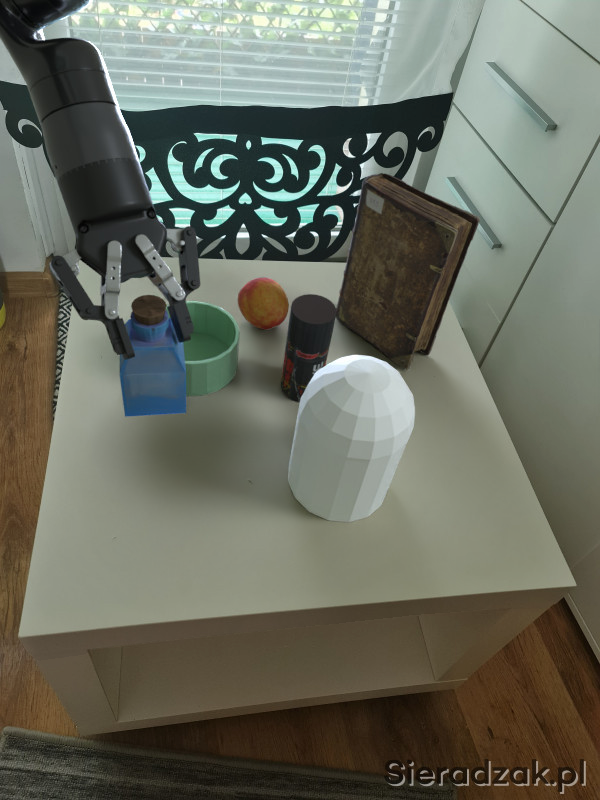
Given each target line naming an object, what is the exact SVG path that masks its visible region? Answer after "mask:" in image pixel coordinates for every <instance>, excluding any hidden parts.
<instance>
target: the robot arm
mask: <svg viewBox="0 0 600 800" xmlns="http://www.w3.org/2000/svg"><path fill="white" fill-rule="evenodd" d="M92 2H93V0H0V41H1V43H2V44H3V45H4V47H5V49H6V51H7V52H8V54H9V56H10V57H11V59H12V61H13V62H14V64H15V66H16V68H17V69H18V71H19V73H20V75H21V76H22V78H23V80H24V82H25V84H26V87H27V90H28V93H29V97H30V99H31V102H32V105H33V108H34V111H35V113H36V116H37V119H38V122H39V125H40V128H41V131H42V135H43V140H44V145H45V149H46V153H47V157H48V160H49V163H50V170H51V173H52V175H53V177H54V178H55V180H56V183H57V186H58V189H59V191H60V195H61V198H62V200H63V204H64V206H65V209H66V211H67V215H68V217H69V220H70V223H71V226H72V230H73V232H74V236H75V243H74V249H72V250H71V251H69V252H67V253H65V254H62V255H55V256H53V257H52V258H51V260H50V262H49V263H48V264H49V265H48V268H49V271H50V272H51V274H52V276H53V277H54V279H55V280H56V282H57V284H58V286H60V288H61V290H62V291H63V293H64V294H65V296H66V297H67V299H68V301H69V302H70V303H71V305H72V307H73V308H74V310H75V311H76V313H77V315H78V316H79V317H80V319H82V320H83V321H98V322H101V323H102V324H103V326H105V330H106V332H107V336H108V339H109V341H110V344H111V347H112V350H113V352H114V353H115V354H116V355H117V356H120V355H121V354H122V355H123V358H124V359H125V360H126V359H130V358H133V357H135V353H134V350H133V347H132V344H131V341H130V338H129V335H128V332H127V330H126V327H125V324H126V323H125V321H124V318H123V317H121V318H120V315H119V314H120V313H119V312H120V293H121V284H123V283H126V282H127V281H129V280H131V279H142V278H147V279H149V281H150V282H151V283H152V285H153V286H154V287H156V288H157V289H158V290H159V292H160V293H161V294H162V296H163V297H164V298H165V300H166V301H167V303H168V305H169V306H167V308H168V311H169V315H170V318H171V321H172V324H173V327H174V330H175V333H176V336H177V339H178V341H179V342H180V343H182V342H186V341H189V340H191V336H190V333H193V331H194V326H193V323H192V320H191V317H190V314H189V311H188V308H187V305H186V301H187V297H188V296H189V295H190V294H191V293H193V292H194V291H196V290H198V289H199V288H201V275H200V273H201V272H200V262H199V251H198V240H197V231H196V229H195V228H194V227H193V226H190V225H187V226H186V227H184V228H166V226H165V225H164V224H163V223H162V221H160V219H159V217H158V216H157V211H156V208H155V206H154V203H153V199H152V196H151V193H150V190H149V187H148V185H147V181H146V178H145V175H144V174H145V173H144V171H143V168H142V165H141V161H140V159H139V156H138V153H137V150H136V147H135V143H134V141H133V137H132V135H131V131H130V129H129V127H128V124H126V121H125V119H124V117H123V115H122V112H121V109H120V107H119V103H118V100H117V97H116V94H115V91H114V88H113V85H112V81H111V78H110V76H109V73H108V70H107V69H108V68H107V66H106V63H105V61H104V58H103V56H102V55H101V52H100V50H99V49H98V48H97V46H96V45H94V44H93V43H91V41H89V40H86V39H83V38H79V37H70V36H69V37H56V38H47V39H46V38H45V36H44V32H43V29H44V28H47V27H49V26H51V25H53V24H55V23H57V22H59V21H61V20H64V19H65V18H68V17H70V16H73V15H75V14H76V13H78V12H81V11H83V10H85V9H86V8H87V7H88V6H89V5H90V4H91V3H92ZM167 242H168V243H169V244H170V245H171V249H172V251H174V252H175V253H177V254H178V255H177V257H178V265H179V266H178V267H179V278H180V283H179V282H178V280H177V279H176V278H175V276H174V273H173V271H172V270H171V269H170V267H169V266H168V264H167V263H166V262H165V260H164V259H163V257H162V255H163V252H164V250H165V246H166V243H167ZM79 261H81V262H82V263H84V264H85V265H86V266H87V267H89V268H90V269H91V270H93V271H94V272H95V273H96V274H98V275H99V276H100V287H99V288H100V289H99V290H100V291H99V292H100V305H96V304H94V303H93V301H92V299H91V297H89V295H88V293H87V292H86V290H85V289H84V287H83V285H82V284H81V282H80V281H79V279H78V276H79V275H80V271H81V269H80V267H79Z"/></svg>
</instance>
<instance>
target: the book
mask: <svg viewBox="0 0 600 800" xmlns="http://www.w3.org/2000/svg"><path fill="white" fill-rule="evenodd" d="M480 221H481V218H480V217H479V216H478V215H476V214H474V213H472V212H470V211H468V210H466V209H463V208H460V207H458V206H456V205H453V204H450V203H449V202H446V201H444V200H442V199H439V198H438V197H435V196H432V195H430V194H428V193H426V192H424V191H422V190H420V189H419V188H416V187H413V186H412V185H410V184H408V183H406V182H405V181H404V180H401V179H400V178H397V177H396V176H394V175H391V174H388V173H383V172H381V173H375V174H370V175H368V176H366V177H365V178H364V179H363V180H362V184H361V190H360V195H359V200H358V205H357V207H356V216H355V220H354V225H353V227H352V229H351V232H352V235H351V240H350V244H349V249H348V250H347V258H346V263H345V268H344V270H343V278H342V282H341V285H340V286H341V287H340V289H339V292H338V293H339V294H338V295H339V296H338V299H337V304H336V306H335V307H336V311H337V313H336V320H338V322H339V323H340V324H342V325H343V326H345V327H346V329H348V330H350V331H353V332H354V333H356V334H357V335H359V336H360V337H361V338H363V339H364V340H366V341H367V342H368V343H370V344H371V345H372V346H374V347H375V348H376V349H378V350H379V351H381V352H382V353H383V354H384V355H385V356H386V357H387V358H388V359H389V360H390V361H392V362H394V363H395V364H396V365H397V366H399V367H400V368H402V369H404V370H406V371H407V370H409V369H411V366H412V362H413V359H414V353H415V352H417V351H419V352H421V353H422V354H425V355H426V356H429V355H430V354H431V352H432V349H433V346H434V344H435V341H436V338H437V334H438V331H439V330H440V327H441V325H442V321H443V318H444V315H445V313H446V310H447V307H448V304H449V302H450V299H451V296H452V293H453V291H454V288H455V285H456V283H457V279H458V277H459V274H460V271H461V269H462V267H463V265H464V262H465V259H466V256H467V254H468V250H469V248H470V246H471V243H472V242H473V240H474V237H475V235H476V232H477V229H478V227H479V224H480Z"/></svg>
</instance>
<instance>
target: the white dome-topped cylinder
mask: <svg viewBox="0 0 600 800" xmlns="http://www.w3.org/2000/svg"><path fill="white" fill-rule="evenodd" d="M414 399H415V398H414V395H413V392H412V391H411V390H410V388H409V386H408V385H407V383H406V381H405V380H404V378H403V376H402V375H401V373H400V371H398V370H397V369H396V368H395V367H393V366H392V365H391V364H389V363H388V362H387V361H385V360H381V359H380V358H377V357H374V356H372V355H371V356H370V355H364V354H363V355H362V354H352V355H351V354H350V355H345V356H341V357H338V358H337V359H335V360H333V361H331V362H330V363H327V364H326V365H325V366H324V367H323V368H321V369H320V370H318V371H316V373H315V374H314V376H313V377H312V379H311V381H310V382H309V384H308V385H307V387H306V389H305V391H304V393H303V395H302V397H301V399H300V402H299V405H298V410H297V416H296V422H295V428H294V432H293V440H292V445H291V450H290V451H291V452H290V455H289V456H290V457H289V462H288V472H287V473H288V474H287V475H288V476H287V482H288V485H289V487H290V490H291V492H292V495H293V496H294V499H295V500H297V502H298V503H299V504H300V505H302V506H303V507H304V508H305V510H306V511H308V513H311V514H313V515H315V516H317V517H320V518H322V519H324V520H327V521H329V522H331V521H332V522H340V523H341V522H342V523H352V522H354V521H355V522H356V521H359V520H362V519H366V518H368V517H370V516H371V515H372V514H373V513H374V512H375V511H377V510H378V509H379V508H381V507H382V506H383V503H384V500H385V498H386V496H387V493H388V491H389V489H390V486H391V484H392V481H393V478H394V476H395V473H396V470H397V468H398V466H399V463H400V461H401V459H402V456H403V454H404V451H405V449H406V446H407V443H408V442H409V441H410V437H411V435H412V432H413V430H414V428H415V418H416V417H415V416H416V407H415V400H414Z"/></svg>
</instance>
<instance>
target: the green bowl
mask: <svg viewBox="0 0 600 800" xmlns="http://www.w3.org/2000/svg"><path fill="white" fill-rule="evenodd" d="M166 305H167V306H169V304H166ZM186 305H187V308H188V311H189V314H190V317H191V320H192V323H193V326H194V331H193V333H190V336H191V340H189V341H186V342H183V346H184V357H185V368H186V397H199V396H205V395H210V394H213V393H216V392H218V391H220V390H221V389H223V388H225V387H227V386H228V384H229V383H230V382H231V381H232V380H234V378H235V376H236V373H237V370H238V364H239V351H240V333H241V332H240V329H239V324H238V322H237V320H235V318H234V317H233V315H232V314H231V313H230V312H229V311H226V310H225V309H223V308H222V307H220V306H218V305H215V304H212V303H211V302H210V303H209V302H204V301H197V300H186ZM167 306H166V311H167V312H168V316H169V318H170V315H169V311H168V308H167Z"/></svg>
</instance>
